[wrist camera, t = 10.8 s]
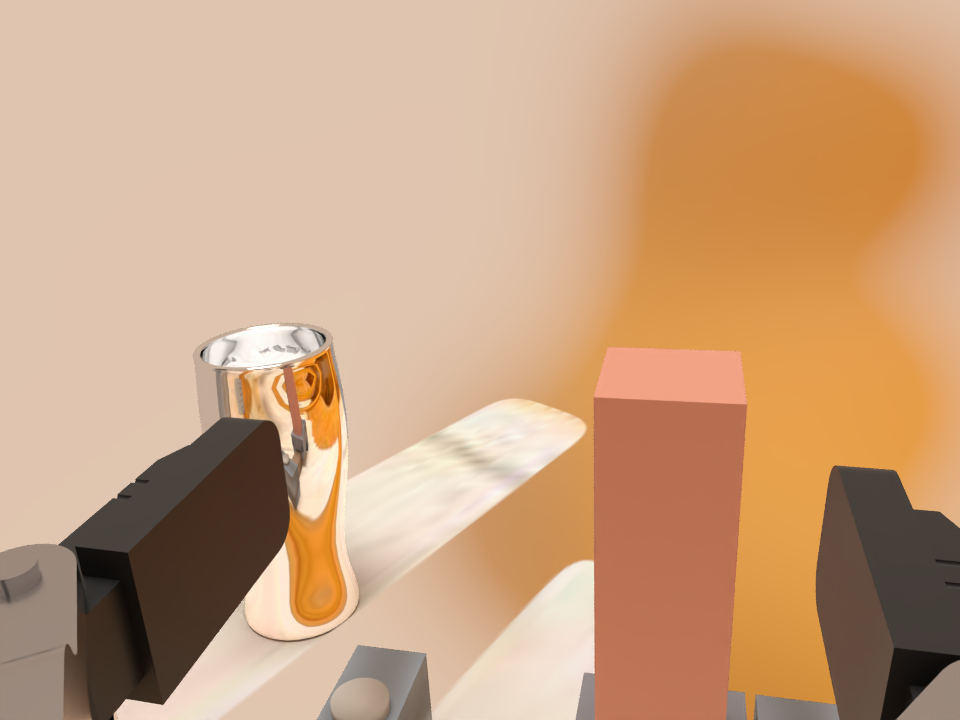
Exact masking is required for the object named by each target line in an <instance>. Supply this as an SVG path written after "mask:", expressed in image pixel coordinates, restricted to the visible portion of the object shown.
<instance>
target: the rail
mask: <svg viewBox="0 0 960 720" xmlns="http://www.w3.org/2000/svg"><path fill="white" fill-rule="evenodd" d="M317 720H432V714H431V703H430V693H429V681H428V670H427V660H426V654H425V653H417V652H409V651H400V650H393V649H384V648H376V647H369V646H361V645H358V646H357V648H356V650H355V652H354V653H353V655H352V657H351V659H350V660H349V662H348V664H347V666H346V668H345V670H344V672H343V673H342V675H341V677H340V679H339V680H338V683H337V684H336V686H335V688H334V690H333V692H332V693H331V695H330V697H329V699H328V700H327V703H326V704H325V706H324V708H323V709H322V711H321V713H320V715H319V717H318V719H317ZM754 720H839V715H838V710H837V705H835V704H827V703H819V702H811V701H802V700H795V699H786V698H778V697H770V696H762V695H756V698H755V710H754Z"/></svg>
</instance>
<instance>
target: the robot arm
mask: <svg viewBox="0 0 960 720" xmlns="http://www.w3.org/2000/svg"><path fill="white" fill-rule="evenodd" d="M289 523H290V506H289V499H288V492H287V485H286V477H285V470H284V463H283V456H282V449H281V442H280V436H279V432H278V429H277V427H276V425H275V424H274V423H273V422H272V421H269V420H258V419H245V418H232V417H224V418H221V419H220V420H218V421H217V422H216V423H215V424H214V425H212V426H211V427H210V428H209V429H208V430H207V431H206V432H205V433H203V434H202V435H201V436H200V437H199V438H198V439H197V440H195V441H194V442H193V443H192V444H191V445H188V446H186V447H184V448H182V449H180V450H178V451H176V452H174V453H172V454H170V455H168V456H165V457H163V458H161V459H159V460H157V461H156V462H155V463H154V464H153V465H151V466H150V467H149V468H148V469H147V470H146V471H145V472H143V473H142V474H141V475H140V476H139V477H137V478H136V481H135V483H130V484H129V485H128V486H127V487H126V488H124V489H123V490H122V491H121V492H120V493H119V494H118V497H117V499H115V498H113V499H112V500H111V501H109V502H108V503H107V504H106V505H105V506H103V507H102V508H101V509H100V510H99V511H98V512H96V513H95V514H94V515H93V516H92V517H90V518H89V519H88V520H87V521H86V522H85V523H84V524H82V525H81V526H80V527H79V528H78V529H76V530H75V531H74V532H73V533H72V534H71V535H69V536H68V537H67V538H66V539H65V540H63V541H62V542H61V543H60V544H59V545H53V544H35V545H27V546H22V547H17V548H14V549H10V550H7V551H4V552H1V553H0V720H118V717H117V714H116V710H117V709H118V708H119V707H120V706H121V704H122V703H123V702H124V701H125V699H131V700H137V701H143V702H149V703H155V704H161V705H163V704H164V703H165V702H166V700H167V699H168V698H169V697H170V695H171V694H172V693H173V691H174V690H175V689H176V687H177V686H178V685H179V683H180V682H181V681H182V679H183V678H184V677H185V675H186V674H187V673H188V671H189V670H190V669H191V667H192V666H193V665H194V663H195V662H196V661H197V659H198V658H199V657H200V655H201V654H202V653H203V652H204V650H205V649H206V648H207V646H208V645H209V644H210V642H211V641H212V640H213V638H214V637H215V636H216V634H217V633H218V632H219V630H220V629H221V628H222V626H223V625H224V624H225V622H226V621H227V620H228V618H229V617H230V616H231V614H232V613H233V612H234V611H235V609H236V608H237V607H238V605H239V604H240V603H241V601H242V600H243V599H244V597H245V596H246V595H247V593H248V592H249V591H250V589H251V588H252V587H253V585H254V584H255V583H256V581H257V580H258V579H259V577H260V576H261V575H262V573H263V572H264V571H265V570H266V568H267V567H268V566H269V564H270V563H271V562H272V560H273V559H274V558H275V556H276V555H277V554H278V552H279V551H280V549H281V548H282V546H283V544H284V542H285V539H286V536H287V533H288V529H289ZM816 604H817V612H818V617H819V622H820V627H821V631H822V637H823V641H824V646H825V651H826V656H827V661H828V665H829V671H830V676H831V680H832V685H833V690H834V695H835V699H836V705H837V710H838V715H839V720H960V528H959V527H957V526H956V525H955V524H954V523H953V522H951V521H950V520H949V519H948V518H946V517H945V516H944V515H943V514H942V513H941V512H937V511H925V510H914V509H913V508H912V506H911V503H910V501H909V499H908V497H907V494H906V492H905V490H904V488H903V485H902V483H901V480H900V478H899V476H898V474H897V472H896V471H894V470H885V469H873V468H860V467H846V466H834V467H833V468H832V470H831V474H830V477H829V483H828V490H827V497H826V504H825V511H824V518H823V525H822V532H821V539H820V546H819V554H818V561H817V570H816Z"/></svg>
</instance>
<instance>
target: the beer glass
mask: <svg viewBox="0 0 960 720" xmlns="http://www.w3.org/2000/svg"><path fill="white" fill-rule="evenodd" d="M193 359H194V363H195V372H196V383H197V395H198V405H199V414H200V420H201V427H202V434H203V433H205V432H206V431H207V430H208V429H209V428H210V427H211V426H212V425H214V424H215V423H216V422H217V421H218V420H220V419H221V418H224V417H232V418H245V419H258V420H269V421H272V422H273V423H274V424H275V425H276V427H277V429H278V432H279V436H280V442H281V449H282V456H283V463H284V470H285V477H286V485H287V492H288V499H289V506H290V523H289V529H288V533H287V536H286V539H285V542H284V544H283V546H282V548H281V549H280V551H279V552H278V554H277V555H276V556H275V558H274V559H273V560H272V562H271V563H270V564H269V566H268V567H267V568H266V570H265V571H264V572H263V573H262V575H261V576H260V577H259V579H258V580H257V581H256V583H255V584H254V585H253V587H252V588H251V589H250V591H249V592H248V593H247V595H246V596H245V616H246V620H247V622H248V624H249V625H250V627H251V628H252V629H253V630H254V631H255V632H257V633H258V634H260V635H262V636H265V637H268V638H271V639H276V640H301V639H307V638H311V637H315V636H318V635H321V634H324V633H326V632H328V631H330V630H332V629H334V628H336V627H337V626H339V625H340V624H342V623H343V622H344V621H345V620H346V619H347V618H349V616H350V615H351V614H352V613H353V612H354V610H355V609H356V607H357V604H358V601H359V587H358V584H357V580H356V577H355V574H354V572H353V569H352V566H351V563H350V560H349V557H348V553H347V549H346V543H345V533H344V517H345V500H346V487H347V471H348V470H347V469H348V429H347V417H346V409H345V403H344V396H343V389H342V385H341V380H340V374H339V370H338V365H337V361H336V356H335V352H334V346H333V337H332V335H331V333H330V332H328V331H327V330H326V329H324V328H321V327H318V326H314V325H308V324H300V323H276V324H265V325H257V326H251V327H246V328H241V329H237V330H233V331H229V332H226V333H223V334H220V335H218V336H216V337H213V338H211V339H209V340H207V341H205V342H204V343H202V344H201V345H199V346H198V347H197V348H196V349H195V351H194V353H193Z"/></svg>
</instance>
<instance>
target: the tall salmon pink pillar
mask: <svg viewBox="0 0 960 720" xmlns="http://www.w3.org/2000/svg"><path fill="white" fill-rule="evenodd" d="M746 412H747V401H746V393H745V385H744V378H743V370H742V363H741V354H740V351H712V350H681V349H651V348H649V349H648V348H620V347H608V349H607V353H606V356H605V360H604V363H603V366H602V370H601V373H600V377H599V380H598V384H597V388H596V391H595V395H594V611H595V674H592V673H584V676H583V682H582V687H581V693H580V699H579V704H578V710H577V716H576V720H747V717H746V704H745V693H744V692H736V691H728V682H729V681H728V680H729V666H730V651H731V637H732V621H733V607H734V592H735V577H736V562H737V546H738V532H739V516H740V501H741V487H742V472H743V456H744V441H745V427H746Z"/></svg>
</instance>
